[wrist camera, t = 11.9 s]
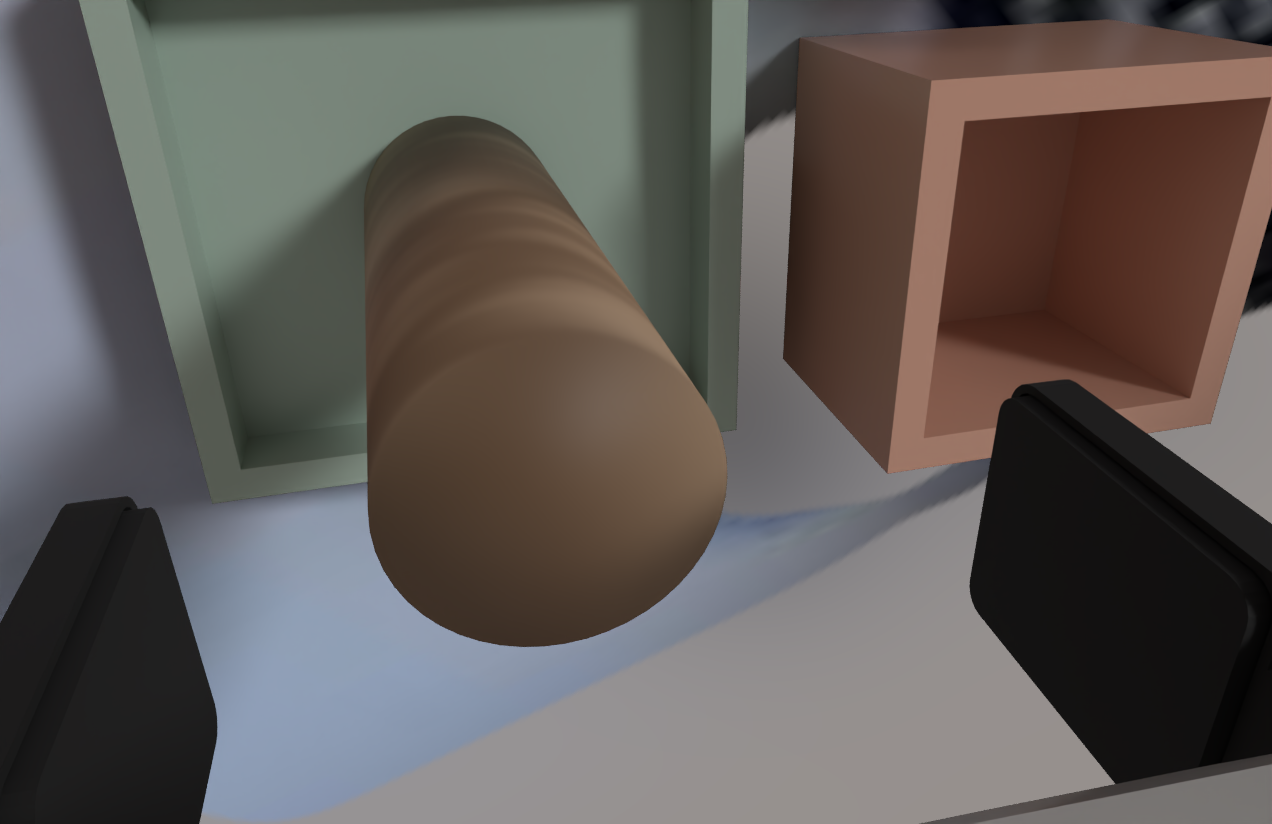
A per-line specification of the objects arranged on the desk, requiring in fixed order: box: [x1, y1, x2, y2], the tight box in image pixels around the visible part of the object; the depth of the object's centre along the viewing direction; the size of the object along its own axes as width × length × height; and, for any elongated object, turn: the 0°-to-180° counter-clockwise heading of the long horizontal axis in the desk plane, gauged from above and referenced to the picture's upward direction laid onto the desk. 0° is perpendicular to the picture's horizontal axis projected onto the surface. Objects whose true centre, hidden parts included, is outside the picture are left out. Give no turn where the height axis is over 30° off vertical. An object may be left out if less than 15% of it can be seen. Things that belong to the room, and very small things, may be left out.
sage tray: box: [79, 0, 748, 504], centre depth 23 cm, size 13×12×2 cm
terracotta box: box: [783, 20, 1272, 474], centre depth 24 cm, size 9×9×6 cm
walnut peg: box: [364, 116, 727, 647], centre depth 18 cm, size 4×4×13 cm
